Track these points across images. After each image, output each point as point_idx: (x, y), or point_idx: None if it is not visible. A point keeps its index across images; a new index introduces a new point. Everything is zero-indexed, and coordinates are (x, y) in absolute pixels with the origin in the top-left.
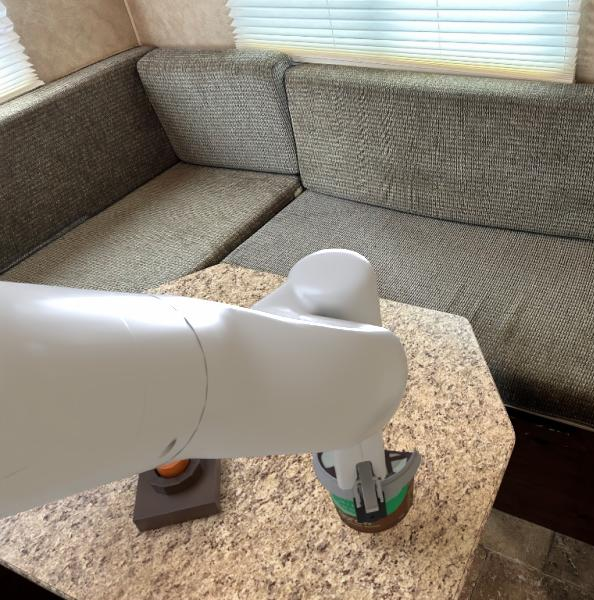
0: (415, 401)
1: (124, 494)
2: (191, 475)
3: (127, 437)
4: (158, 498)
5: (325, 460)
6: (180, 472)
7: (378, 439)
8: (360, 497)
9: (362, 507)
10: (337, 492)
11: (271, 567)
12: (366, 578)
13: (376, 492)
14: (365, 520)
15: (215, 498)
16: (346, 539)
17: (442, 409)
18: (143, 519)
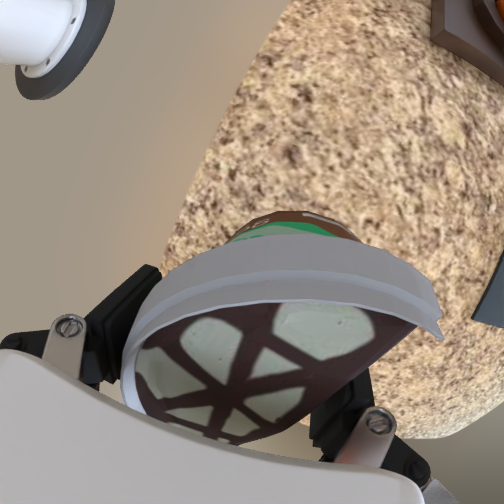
0: (421, 380)
1: None
2: (494, 22)
3: None
4: None
5: (324, 314)
6: (501, 16)
7: None
8: (99, 338)
9: (3, 342)
10: (168, 281)
11: (298, 67)
12: (208, 199)
13: (114, 372)
14: (115, 289)
15: (450, 35)
16: (285, 197)
17: (386, 398)
18: None
